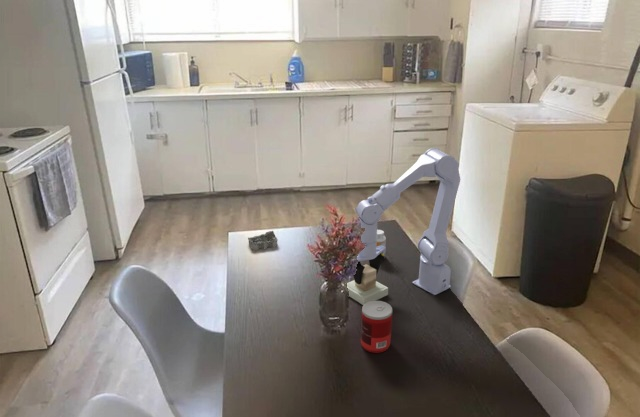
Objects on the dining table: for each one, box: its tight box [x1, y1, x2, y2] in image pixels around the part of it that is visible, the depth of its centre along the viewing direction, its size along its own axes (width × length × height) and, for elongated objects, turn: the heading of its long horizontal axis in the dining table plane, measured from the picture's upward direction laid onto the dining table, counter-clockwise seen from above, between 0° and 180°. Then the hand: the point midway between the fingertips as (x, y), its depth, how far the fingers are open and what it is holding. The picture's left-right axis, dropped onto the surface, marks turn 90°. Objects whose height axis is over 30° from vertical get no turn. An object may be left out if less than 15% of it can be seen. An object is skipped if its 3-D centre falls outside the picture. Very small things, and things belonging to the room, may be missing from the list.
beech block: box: [355, 263, 377, 291], centre depth 146 cm, size 4×4×6 cm
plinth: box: [346, 279, 389, 306], centre depth 147 cm, size 10×10×3 cm
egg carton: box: [247, 230, 278, 251], centre depth 179 cm, size 11×8×4 cm
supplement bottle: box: [376, 229, 387, 258], centre depth 168 cm, size 6×6×10 cm
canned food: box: [360, 300, 393, 354], centre depth 123 cm, size 8×8×11 cm
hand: (365, 279), depth 146 cm, fingers open, 6 cm apart
